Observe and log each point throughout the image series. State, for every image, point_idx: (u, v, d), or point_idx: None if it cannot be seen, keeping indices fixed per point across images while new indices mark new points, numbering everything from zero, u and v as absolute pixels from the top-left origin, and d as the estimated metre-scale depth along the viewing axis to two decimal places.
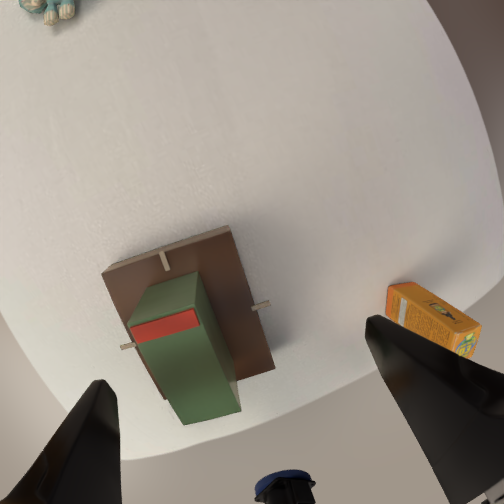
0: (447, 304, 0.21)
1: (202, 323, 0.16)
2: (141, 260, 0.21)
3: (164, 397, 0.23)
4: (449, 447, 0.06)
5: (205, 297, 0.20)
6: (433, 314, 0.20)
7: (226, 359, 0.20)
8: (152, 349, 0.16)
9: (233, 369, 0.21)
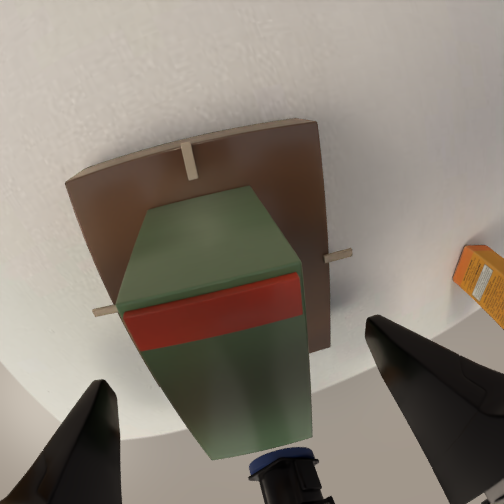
0: None
1: (304, 306, 0.07)
2: (143, 157, 0.10)
3: None
4: (450, 447, 0.06)
5: None
6: None
7: None
8: (173, 360, 0.07)
9: None
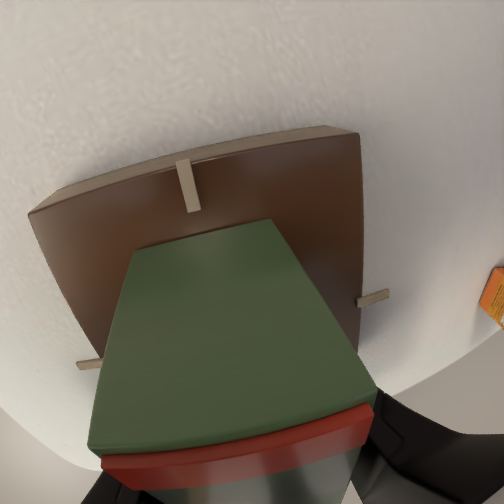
0: None
1: None
2: (125, 181, 0.07)
3: None
4: (370, 488, 0.05)
5: None
6: None
7: None
8: (179, 489, 0.04)
9: None
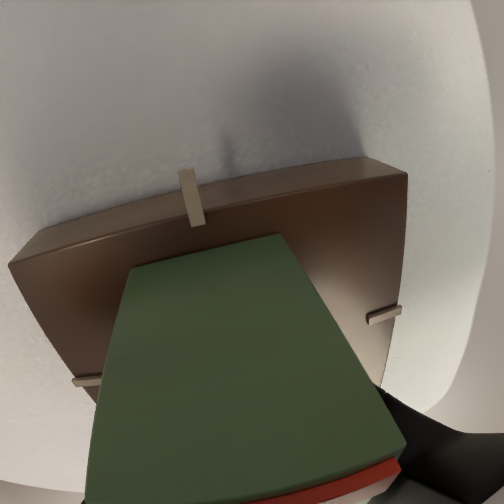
0: None
1: None
2: None
3: None
4: None
5: None
6: None
7: None
8: None
9: None
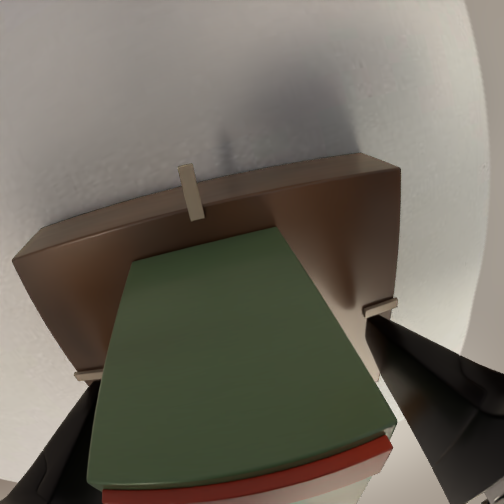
0: None
1: None
2: None
3: None
4: (450, 447, 0.06)
5: None
6: None
7: None
8: None
9: None
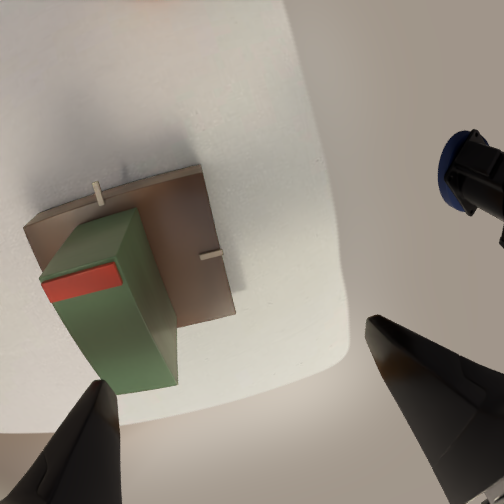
0: None
1: (126, 281, 0.12)
2: None
3: (231, 313, 0.21)
4: (449, 447, 0.06)
5: (142, 241, 0.16)
6: None
7: (164, 319, 0.16)
8: (68, 310, 0.12)
9: (174, 328, 0.18)
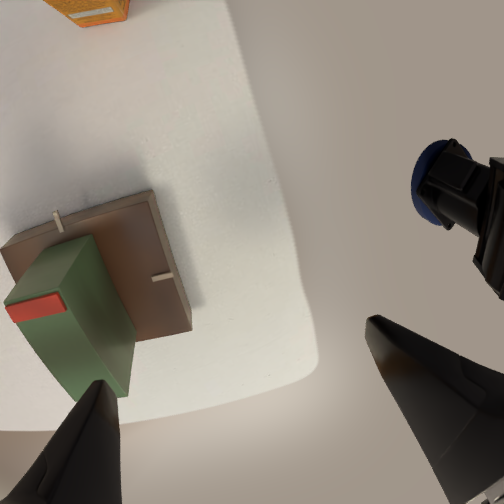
0: None
1: (70, 308, 0.12)
2: None
3: (188, 330, 0.21)
4: (450, 447, 0.06)
5: (95, 266, 0.16)
6: None
7: (117, 336, 0.17)
8: (29, 329, 0.12)
9: (131, 343, 0.19)
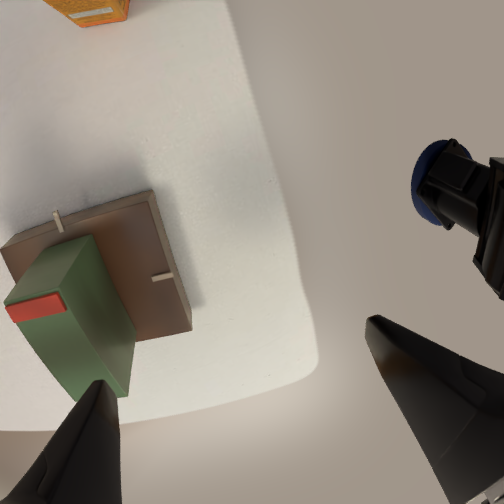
0: None
1: (70, 308, 0.12)
2: None
3: (188, 330, 0.21)
4: (450, 447, 0.06)
5: (95, 266, 0.16)
6: None
7: (117, 336, 0.17)
8: (29, 329, 0.12)
9: (131, 343, 0.19)
